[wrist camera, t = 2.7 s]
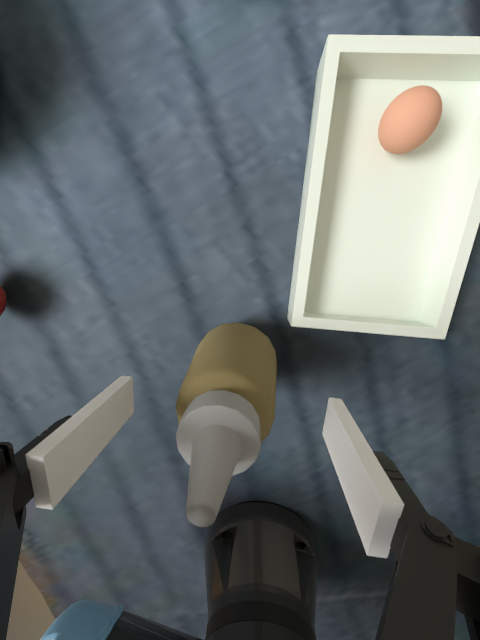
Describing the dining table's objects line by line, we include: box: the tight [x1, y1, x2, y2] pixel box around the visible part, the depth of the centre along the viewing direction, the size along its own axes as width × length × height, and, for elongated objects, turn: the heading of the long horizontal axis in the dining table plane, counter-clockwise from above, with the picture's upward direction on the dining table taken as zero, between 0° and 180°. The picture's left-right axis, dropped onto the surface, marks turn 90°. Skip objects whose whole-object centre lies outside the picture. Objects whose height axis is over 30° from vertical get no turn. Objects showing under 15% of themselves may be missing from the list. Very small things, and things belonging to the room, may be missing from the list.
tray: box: [287, 35, 480, 339], centre depth 20 cm, size 22×14×3 cm, turn 176°
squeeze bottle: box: [176, 323, 277, 527], centre depth 17 cm, size 8×8×18 cm
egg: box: [378, 85, 442, 154], centre depth 18 cm, size 4×4×4 cm
